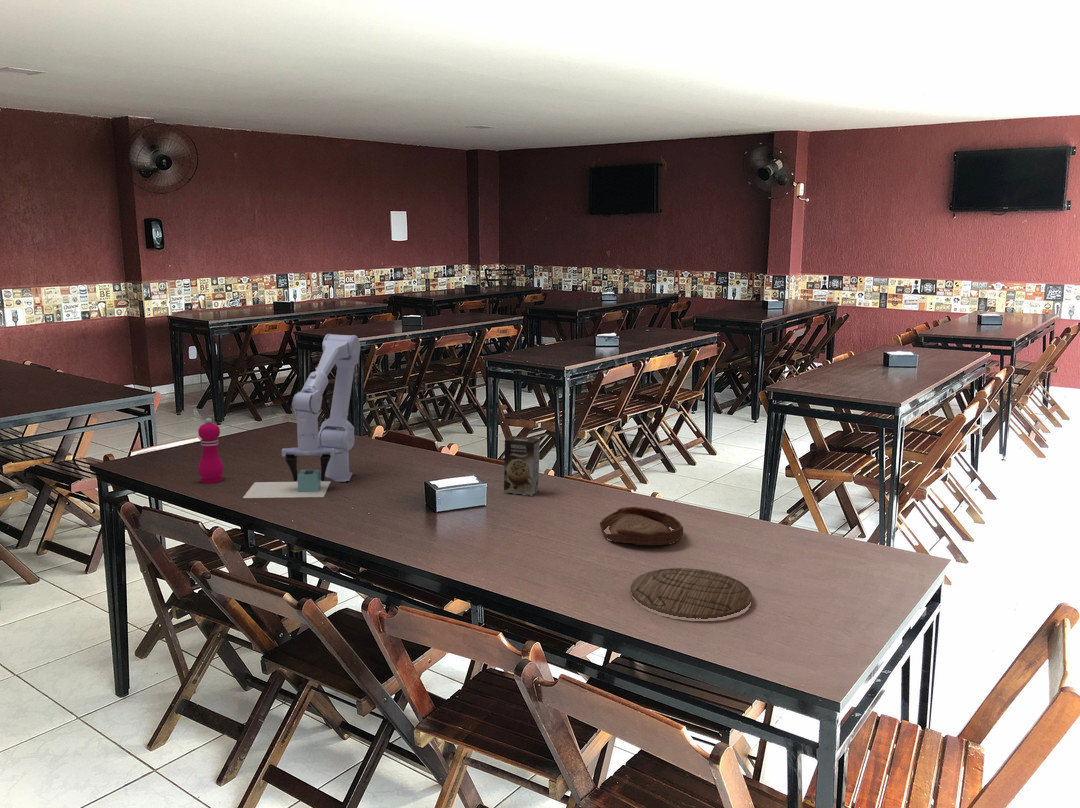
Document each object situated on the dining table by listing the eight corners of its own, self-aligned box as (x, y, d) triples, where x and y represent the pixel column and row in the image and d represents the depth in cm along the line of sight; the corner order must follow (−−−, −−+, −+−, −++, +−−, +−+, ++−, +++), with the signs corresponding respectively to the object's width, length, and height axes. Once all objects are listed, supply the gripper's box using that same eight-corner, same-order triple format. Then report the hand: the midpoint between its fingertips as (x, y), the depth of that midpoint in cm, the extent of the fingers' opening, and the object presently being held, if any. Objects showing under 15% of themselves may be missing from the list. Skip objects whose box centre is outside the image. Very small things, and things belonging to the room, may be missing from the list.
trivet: (741, 632, 170) (741, 623, 170) (615, 611, 179) (616, 602, 179) (759, 586, 193) (760, 578, 193) (647, 569, 202) (648, 561, 202)
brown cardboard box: (503, 493, 259) (503, 439, 256) (510, 488, 265) (510, 435, 262) (532, 496, 256) (533, 442, 253) (539, 490, 262) (540, 437, 259)
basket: (586, 527, 231) (587, 508, 230) (655, 519, 238) (656, 501, 237) (624, 556, 210) (625, 536, 209) (698, 547, 217) (699, 527, 216)
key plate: (254, 486, 262) (254, 471, 261) (330, 485, 264) (330, 470, 264) (242, 502, 246) (242, 486, 246) (323, 500, 249) (323, 485, 248)
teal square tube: (301, 486, 258) (300, 469, 257) (320, 486, 259) (320, 469, 258) (298, 492, 253) (297, 475, 252) (318, 491, 253) (317, 474, 252)
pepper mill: (229, 481, 267) (225, 416, 263) (218, 487, 260) (214, 420, 256) (205, 480, 268) (202, 415, 264) (194, 486, 260) (190, 420, 257)
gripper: (279, 437, 248) (280, 484, 251) (332, 436, 250) (333, 483, 252) (283, 431, 255) (285, 477, 258) (335, 431, 257) (336, 476, 259)
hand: (309, 480), depth 255 cm, fingers open, 7 cm apart
